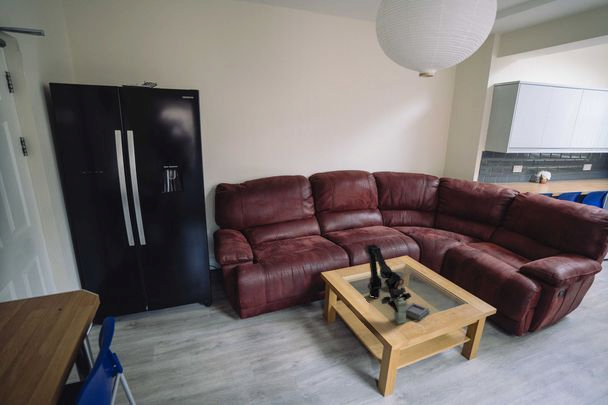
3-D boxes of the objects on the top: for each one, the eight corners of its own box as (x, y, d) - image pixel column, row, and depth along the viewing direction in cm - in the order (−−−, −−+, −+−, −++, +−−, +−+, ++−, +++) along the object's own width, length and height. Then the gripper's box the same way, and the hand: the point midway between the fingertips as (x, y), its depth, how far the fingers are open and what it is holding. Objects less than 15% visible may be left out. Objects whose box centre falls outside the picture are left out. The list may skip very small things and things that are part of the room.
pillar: (394, 319, 185) (394, 299, 182) (401, 318, 186) (401, 298, 184) (398, 323, 180) (399, 303, 178) (405, 322, 181) (406, 302, 179)
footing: (403, 313, 191) (403, 308, 191) (412, 307, 199) (412, 302, 198) (420, 321, 182) (420, 315, 182) (429, 313, 190) (429, 308, 189)
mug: (403, 285, 231) (404, 273, 229) (403, 289, 224) (404, 277, 222) (390, 283, 235) (390, 272, 233) (389, 288, 227) (389, 276, 225)
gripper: (383, 285, 181) (393, 310, 172) (409, 281, 185) (420, 305, 177) (377, 291, 190) (386, 315, 181) (402, 287, 194) (412, 310, 185)
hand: (401, 311), depth 181 cm, fingers closed on pillar, 5 cm apart
